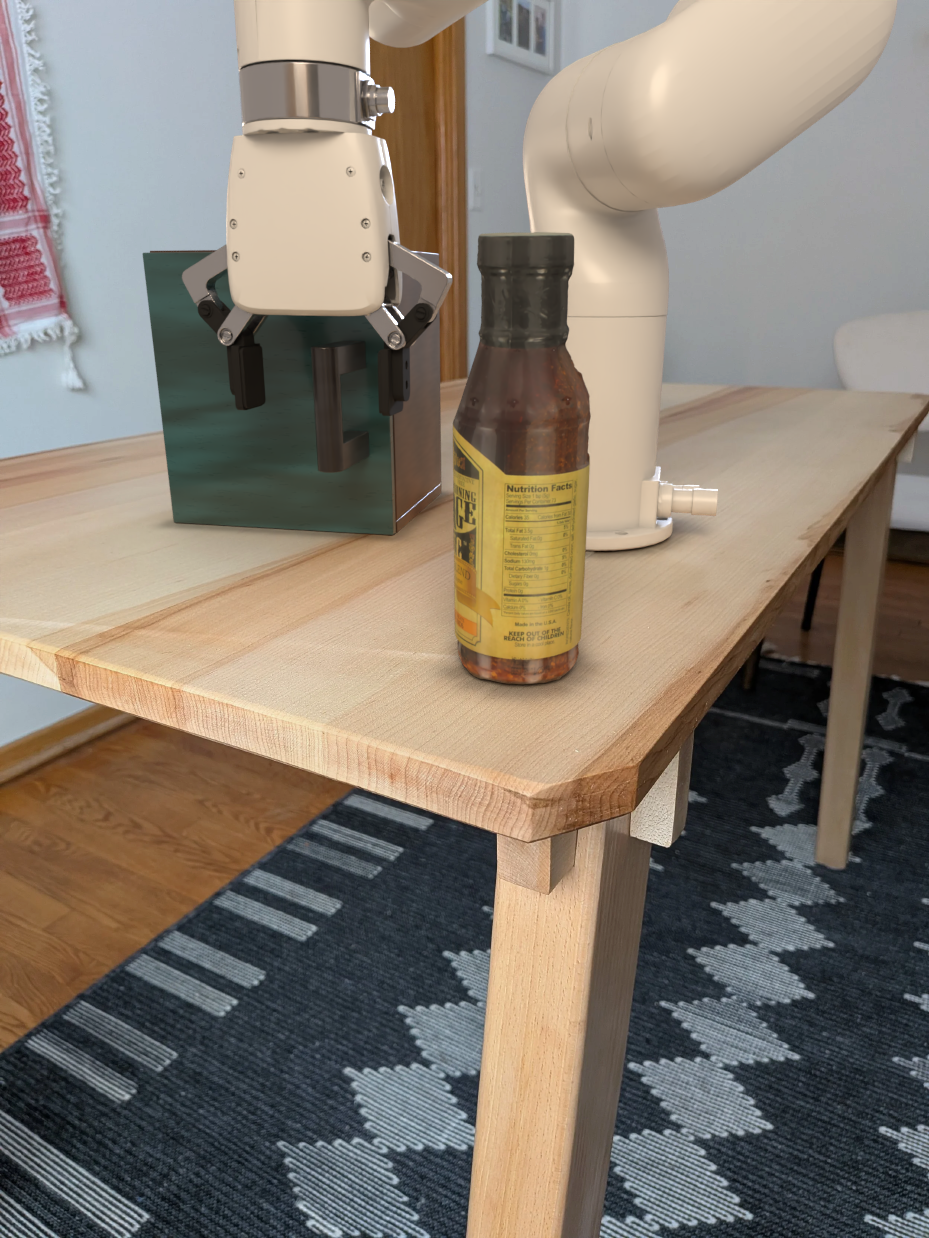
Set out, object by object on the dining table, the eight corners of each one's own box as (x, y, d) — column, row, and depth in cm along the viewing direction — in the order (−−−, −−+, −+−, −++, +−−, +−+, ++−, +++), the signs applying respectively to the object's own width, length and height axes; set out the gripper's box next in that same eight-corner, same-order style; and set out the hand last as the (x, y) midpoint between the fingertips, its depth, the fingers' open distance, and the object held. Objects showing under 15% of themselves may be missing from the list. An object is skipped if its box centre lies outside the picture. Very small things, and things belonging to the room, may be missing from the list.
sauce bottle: (465, 638, 49) (464, 236, 42) (583, 645, 48) (602, 235, 41) (443, 690, 43) (437, 229, 36) (577, 699, 42) (598, 227, 35)
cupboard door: (366, 559, 62) (353, 247, 55) (128, 544, 66) (88, 250, 59) (396, 532, 69) (388, 250, 62) (178, 520, 72) (147, 253, 65)
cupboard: (397, 533, 69) (389, 248, 62) (180, 521, 73) (149, 250, 66) (441, 493, 82) (439, 253, 75) (255, 485, 85) (236, 255, 78)
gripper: (465, 119, 55) (462, 408, 61) (201, 126, 58) (223, 399, 64) (434, 95, 48) (435, 424, 54) (137, 105, 52) (169, 413, 57)
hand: (320, 410), depth 59 cm, fingers open, 9 cm apart
